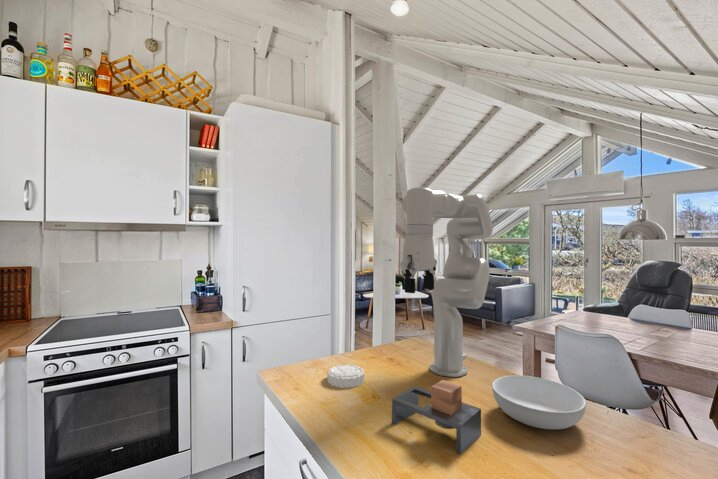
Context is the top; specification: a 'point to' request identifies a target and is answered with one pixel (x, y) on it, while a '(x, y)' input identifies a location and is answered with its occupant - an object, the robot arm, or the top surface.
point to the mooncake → (346, 376)
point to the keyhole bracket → (440, 416)
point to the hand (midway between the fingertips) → (419, 290)
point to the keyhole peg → (446, 399)
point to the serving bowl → (539, 401)
